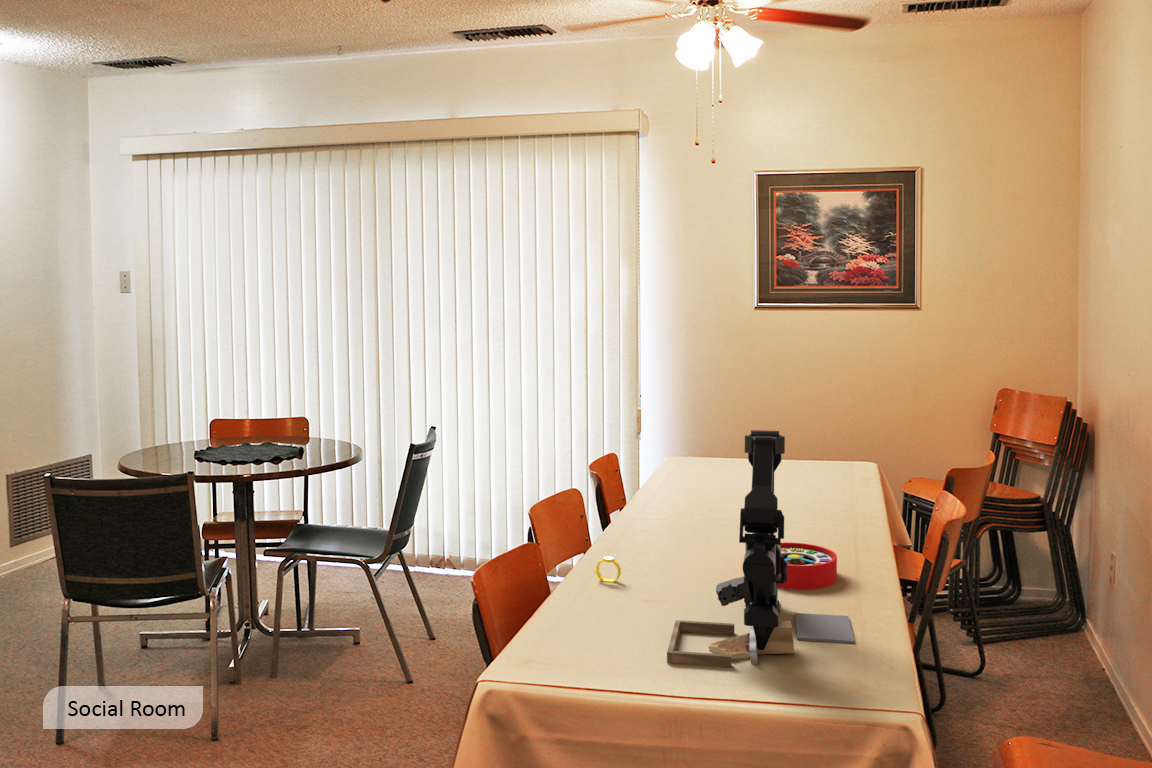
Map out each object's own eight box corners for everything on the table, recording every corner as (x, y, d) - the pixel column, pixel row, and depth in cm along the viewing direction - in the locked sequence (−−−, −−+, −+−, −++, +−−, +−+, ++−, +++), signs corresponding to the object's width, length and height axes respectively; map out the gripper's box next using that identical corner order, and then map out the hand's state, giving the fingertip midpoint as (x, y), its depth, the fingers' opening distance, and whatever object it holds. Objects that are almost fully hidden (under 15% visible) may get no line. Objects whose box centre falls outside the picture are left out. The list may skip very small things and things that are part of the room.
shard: (749, 639, 182) (749, 631, 181) (776, 652, 175) (776, 643, 175) (707, 651, 176) (707, 642, 176) (733, 665, 169) (733, 655, 169)
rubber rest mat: (795, 615, 194) (795, 612, 194) (848, 618, 191) (848, 615, 191) (797, 639, 180) (797, 637, 180) (854, 643, 178) (854, 641, 178)
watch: (621, 582, 218) (622, 558, 218) (617, 585, 216) (619, 561, 215) (598, 577, 221) (599, 554, 220) (594, 581, 218) (595, 557, 217)
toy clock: (785, 537, 233) (853, 554, 218) (785, 559, 234) (853, 577, 219) (735, 553, 220) (804, 571, 205) (735, 576, 221) (804, 596, 206)
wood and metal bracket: (751, 639, 181) (748, 615, 180) (792, 637, 179) (790, 613, 179) (750, 663, 169) (747, 638, 169) (795, 661, 167) (792, 635, 167)
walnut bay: (675, 629, 187) (675, 620, 186) (734, 633, 184) (734, 623, 184) (667, 662, 170) (666, 652, 170) (731, 667, 168) (731, 656, 167)
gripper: (720, 552, 184) (720, 626, 185) (716, 581, 165) (717, 662, 167) (775, 554, 181) (776, 629, 183) (778, 583, 163) (778, 666, 165)
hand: (761, 645), depth 174 cm, fingers closed on wood and metal bracket, 3 cm apart
